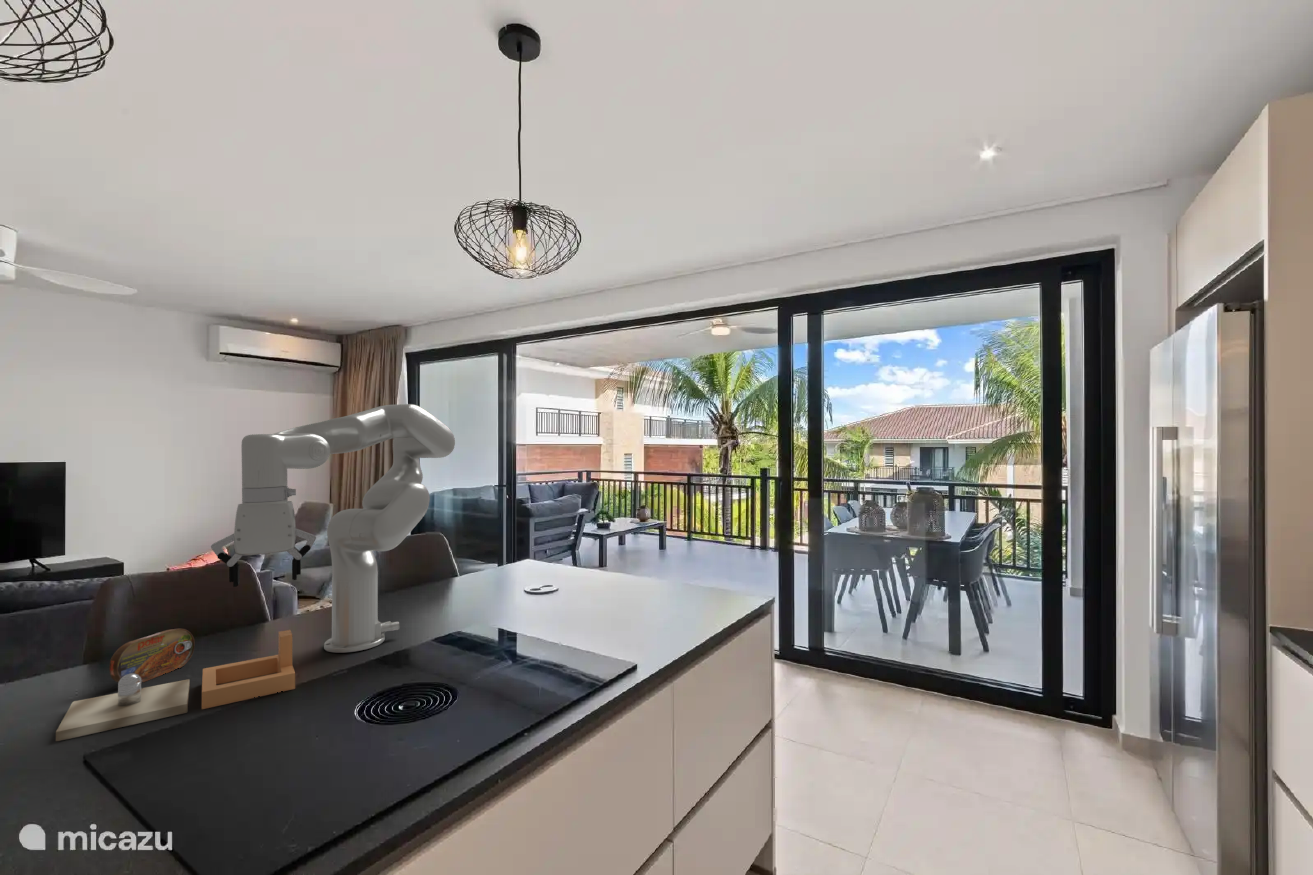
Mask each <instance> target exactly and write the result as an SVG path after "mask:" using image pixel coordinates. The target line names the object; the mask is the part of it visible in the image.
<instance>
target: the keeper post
mask: <svg viewBox="0 0 1313 875" xmlns="http://www.w3.org/2000/svg"><path fill="white" fill-rule="evenodd" d="M141 688H142V683H141V677H140V676H139V675H138V674H135V673H131V674H127V675H125V676H123V677H122V678H121V679H120V681H119V683H118V682H117V693H118V706H120V707H123V706H130V705H133V704H136V703H139V702H140V701H141Z"/></svg>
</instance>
